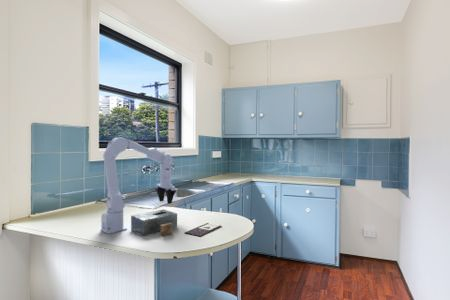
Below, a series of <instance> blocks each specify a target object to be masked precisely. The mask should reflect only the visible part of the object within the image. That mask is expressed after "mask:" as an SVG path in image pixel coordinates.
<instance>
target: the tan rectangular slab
mask: <svg viewBox="0 0 450 300" xmlns="http://www.w3.org/2000/svg"><path fill="white" fill-rule="evenodd" d="M173 231H174V230H173V224H172V223H167V224H163V225H161V232H160V237H161V238H164V237H168V236H172V235H174V234H173Z"/></svg>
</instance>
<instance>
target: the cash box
mask: <svg viewBox="0 0 450 300" xmlns="http://www.w3.org/2000/svg"><path fill="white" fill-rule="evenodd" d="M167 223H172V224H173V229H177V228H178V213H177V212H173V211H170V210H167V209H158V210H152V211H149V212H143V213H139V214H132V215H130V226H131V227H130V228H131V231H132V232H134V233H137V234H139V235H141V236H143V237H146V236H150V235H153V234H158V233H161V225H163V224H167Z"/></svg>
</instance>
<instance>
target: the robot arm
mask: <svg viewBox="0 0 450 300" xmlns="http://www.w3.org/2000/svg"><path fill="white" fill-rule="evenodd" d="M126 150H134V151H137V152H139V153H142V154H144V155H145V156H146V158H147V159H150V160H152V161H154V162H156V163H158V164H159V165H160V166H159V183H156V188H155V190H154V191H156V193H157V196H158V200H159V202H164V201H165V195H166V201H167V204H172V203H173V199H174V196H175V194H176V192H177V190H176V186H174V185H173V184H172V164H173V163H174V159H173V156H172V155H170V154H166V152H165V151H161V150H158V148H157V147H150V148H148V147H146V146H144V145H141V144H140V143H137V142H136V141H134V140H131V139H127V138H125V137H114V138H112V139H111V140H110V141H109V142H108V143H107V146H106V148H105V150H104V152H103V157H102V158H103V162H104V163H103V164H104V171H105V172H104V173H105V178H106V184H107V185H106V186H107V199H106V201H105V202H106V203H105V204H106V207H107V209H106V212H104V213H101V217H100V219H101V220H100V223H101V229H100V231H101V232H104V233H105V234H112V233H113V234H114V233H117V232H122V231H126V230H128V227H125V226H124V208H125V204H126V203H125V201H124V200H123V198H122V197H123V196H122V193H121V191H120V186H119V185H120V184H119V178H118V170H117V163H116V162H117V161H116V159H117V157H118V156H119V155H120V153H122V152H124V151H126Z"/></svg>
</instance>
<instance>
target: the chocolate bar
mask: <svg viewBox="0 0 450 300" xmlns="http://www.w3.org/2000/svg"><path fill="white" fill-rule="evenodd" d="M221 226H222V225H221V224H220V225H219V224H213V223H209V222H206V223H204V224H202V225H199V226H197V227H195V228H192V229H190V230H187V231H185V232H184V235H190V236H195V237H199V238H201V237H203V236H205V235H207V234H210V233H211V232H214V231H216V230H218V229H220V227H221ZM221 228H222V227H221Z"/></svg>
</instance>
